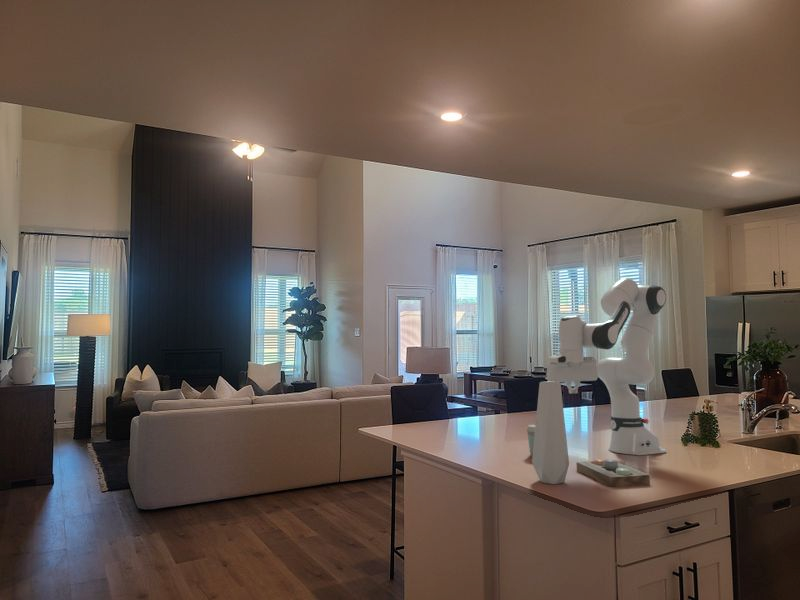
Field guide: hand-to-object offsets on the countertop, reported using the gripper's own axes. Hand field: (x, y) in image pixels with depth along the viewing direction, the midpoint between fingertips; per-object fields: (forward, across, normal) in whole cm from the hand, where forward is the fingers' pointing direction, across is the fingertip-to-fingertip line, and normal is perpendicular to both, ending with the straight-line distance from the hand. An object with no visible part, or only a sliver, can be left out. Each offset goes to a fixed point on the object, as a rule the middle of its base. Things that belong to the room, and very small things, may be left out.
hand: (573, 393), depth 213 cm
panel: (+26, 0, +23) cm, 35 cm away
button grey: (+24, 0, +23) cm, 33 cm away
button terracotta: (+25, 0, +16) cm, 30 cm away
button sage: (+25, 0, +30) cm, 39 cm away
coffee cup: (+26, +9, -14) cm, 31 cm away
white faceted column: (+26, +22, +24) cm, 41 cm away
